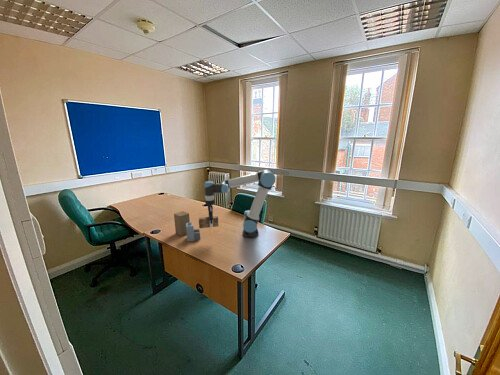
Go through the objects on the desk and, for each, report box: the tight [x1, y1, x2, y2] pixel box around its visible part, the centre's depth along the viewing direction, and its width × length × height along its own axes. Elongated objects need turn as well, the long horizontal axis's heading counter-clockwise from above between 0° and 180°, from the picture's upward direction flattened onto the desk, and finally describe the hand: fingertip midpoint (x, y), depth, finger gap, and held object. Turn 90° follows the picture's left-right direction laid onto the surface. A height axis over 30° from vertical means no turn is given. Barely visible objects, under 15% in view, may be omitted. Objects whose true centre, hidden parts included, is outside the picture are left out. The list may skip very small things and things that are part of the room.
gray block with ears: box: [186, 221, 201, 242], centre depth 185 cm, size 11×8×16 cm
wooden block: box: [173, 210, 191, 237], centre depth 195 cm, size 10×10×20 cm
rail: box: [198, 215, 219, 229], centre depth 178 cm, size 16×4×8 cm, turn 106°
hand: (211, 225), depth 179 cm, fingers closed on rail, 4 cm apart
